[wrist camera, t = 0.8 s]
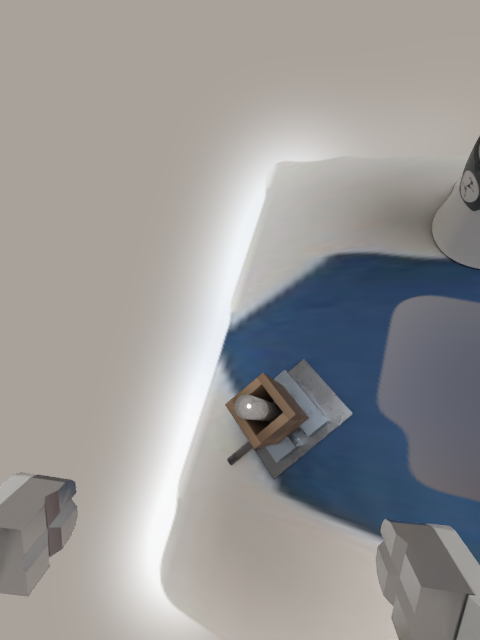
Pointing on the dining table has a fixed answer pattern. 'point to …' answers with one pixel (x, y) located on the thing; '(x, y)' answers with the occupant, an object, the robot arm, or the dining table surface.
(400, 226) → the dining table surface
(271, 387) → the walnut sleeve
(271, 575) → the dining table surface
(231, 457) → the vise
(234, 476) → the dining table surface
